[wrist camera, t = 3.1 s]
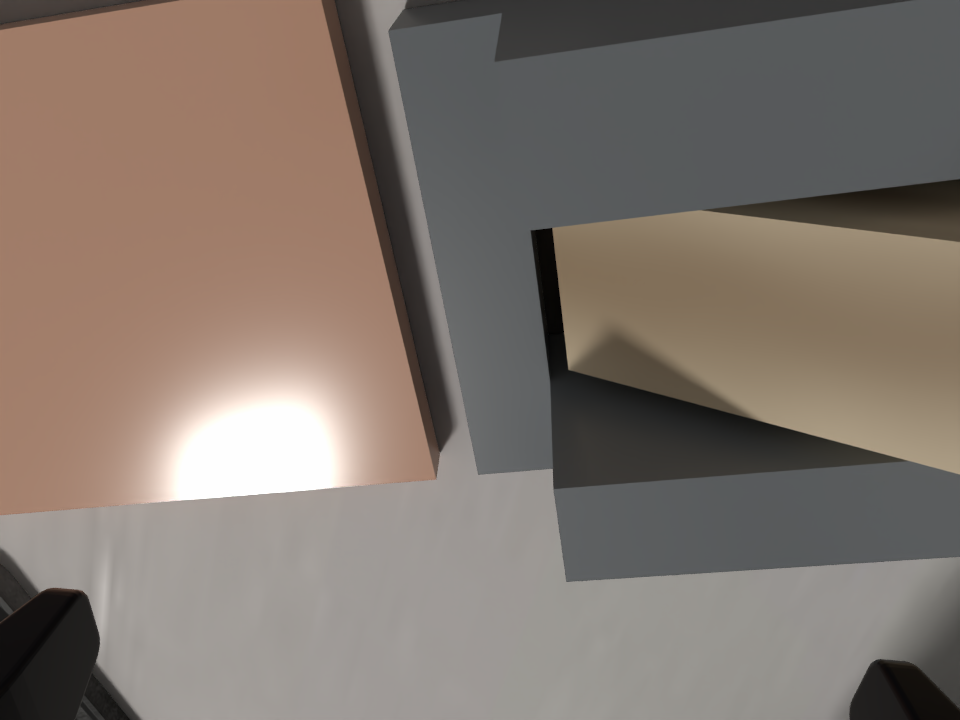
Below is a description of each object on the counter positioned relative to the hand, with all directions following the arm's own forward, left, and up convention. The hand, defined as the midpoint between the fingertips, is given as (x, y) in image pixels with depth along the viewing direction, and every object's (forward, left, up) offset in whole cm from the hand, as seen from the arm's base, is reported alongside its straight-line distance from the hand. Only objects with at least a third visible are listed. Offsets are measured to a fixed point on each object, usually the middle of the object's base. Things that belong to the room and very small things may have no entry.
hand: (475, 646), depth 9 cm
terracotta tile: (0, +10, -11) cm, 15 cm away
